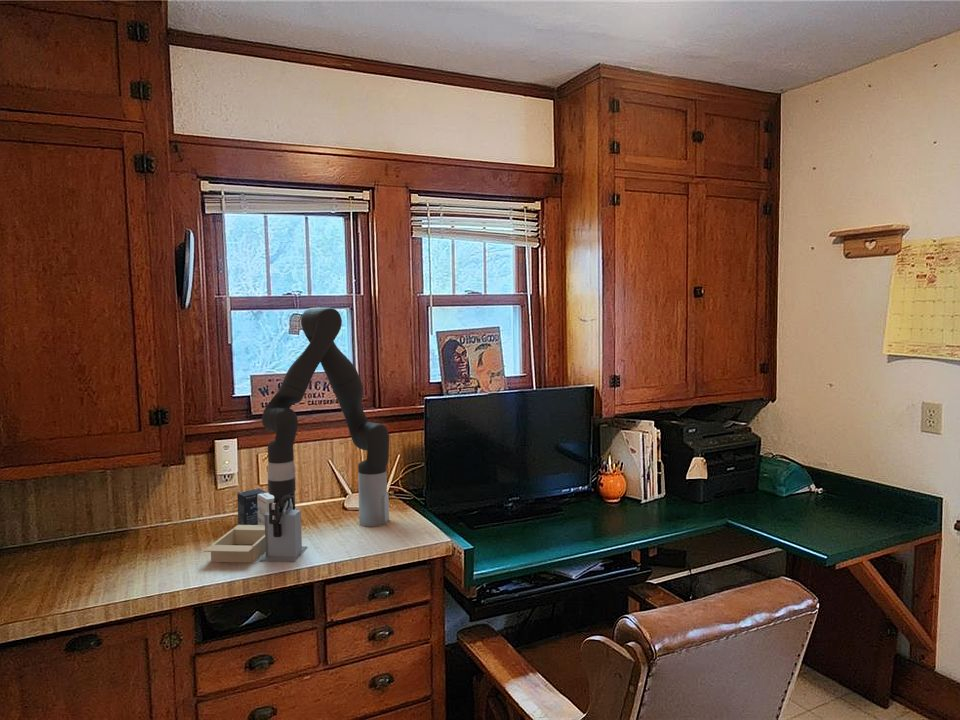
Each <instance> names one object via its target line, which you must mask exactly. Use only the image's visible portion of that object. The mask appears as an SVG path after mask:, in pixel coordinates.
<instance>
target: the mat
mask: <svg viewBox="0 0 960 720" xmlns="http://www.w3.org/2000/svg"><path fill="white" fill-rule="evenodd" d="M306 548H307V549H308V546H303V545H302V551H301V552H300V553H299V554H298V555H297V556H296V557H289V556H266V553H264V554H263V555H262V557H260V559H259V562H262V561H265V562H266V561H267V563H268V562H269V563H270V562H274V563H275V562H276V563H295V562H296V561H297V560H298V559H299V558H300V557H301V556H302V554H303V553H304V552H305V551H306V550H307V549H306ZM305 549H306V550H305ZM304 550H305V551H304ZM303 551H304V552H303ZM302 552H303V553H302ZM301 553H302V554H301ZM298 557H299V558H298ZM297 558H298V559H297ZM296 559H297V560H296ZM265 562H264V563H265Z"/></svg>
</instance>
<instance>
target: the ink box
mask: <svg viewBox="0 0 960 720" xmlns="http://www.w3.org/2000/svg"><path fill="white" fill-rule="evenodd" d="M273 501H274V496H273V495H270V494H269V493H268V492H267V493H262V494H258V495H257V503H258V524H257V525H265V518H264V515H265V514H266V513H267V512H269V503H273Z"/></svg>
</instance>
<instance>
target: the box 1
mask: <svg viewBox="0 0 960 720" xmlns="http://www.w3.org/2000/svg"><path fill="white" fill-rule="evenodd" d="M262 493H268V491H266V490H263V489H261V488H255V489H250V490H246V491H240V492H237V493H236V494H237V525H258V503H257V495H258V494H262Z"/></svg>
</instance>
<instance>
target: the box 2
mask: <svg viewBox="0 0 960 720" xmlns="http://www.w3.org/2000/svg"><path fill="white" fill-rule="evenodd" d="M264 518H265V546H266V552H265V554H266V556H289V557H296V556H297V555H298V554H299V553H300V552H301V551H302V546H303V539H302V538H303V537H302V511H301V509H295V510H286V512H285V516H284V517H283V518H282V523H281V524H282V536H281V537H274V536H273V524H269V512H267V513H266V514H265V515H264ZM272 518H273V516H272ZM275 520H276V519H275Z"/></svg>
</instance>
